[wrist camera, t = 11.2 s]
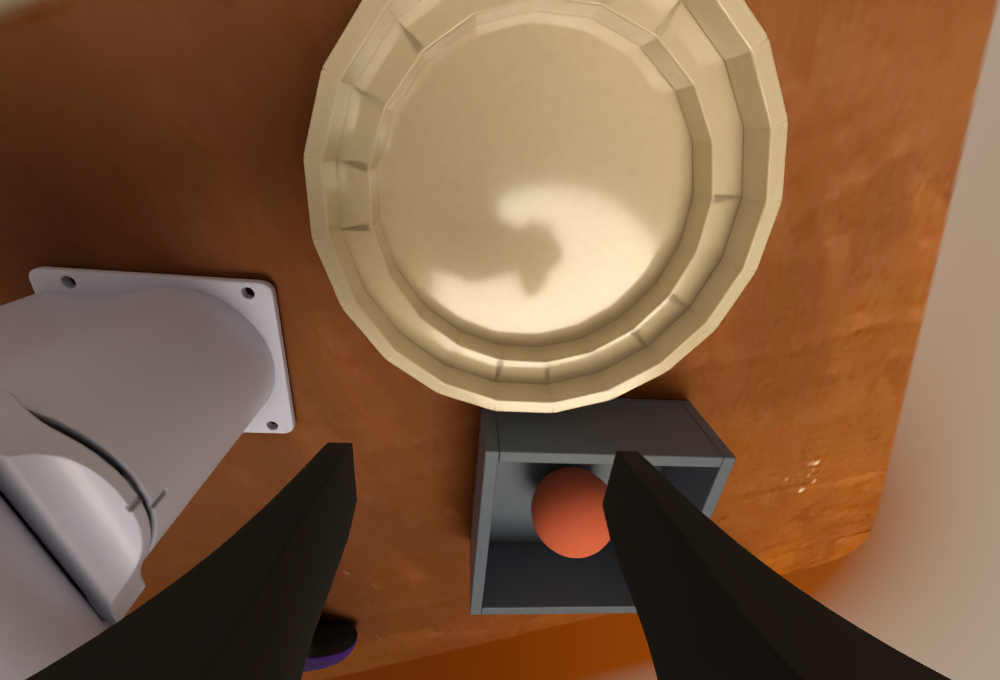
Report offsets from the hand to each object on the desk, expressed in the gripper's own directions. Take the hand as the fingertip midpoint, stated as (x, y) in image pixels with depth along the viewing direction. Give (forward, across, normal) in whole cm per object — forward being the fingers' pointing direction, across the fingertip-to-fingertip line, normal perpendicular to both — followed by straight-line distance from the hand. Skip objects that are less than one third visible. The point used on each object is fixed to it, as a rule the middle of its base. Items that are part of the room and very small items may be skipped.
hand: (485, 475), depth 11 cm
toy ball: (+9, -6, +9) cm, 14 cm away
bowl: (+9, -2, -6) cm, 11 cm away
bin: (+9, -6, +9) cm, 14 cm away
